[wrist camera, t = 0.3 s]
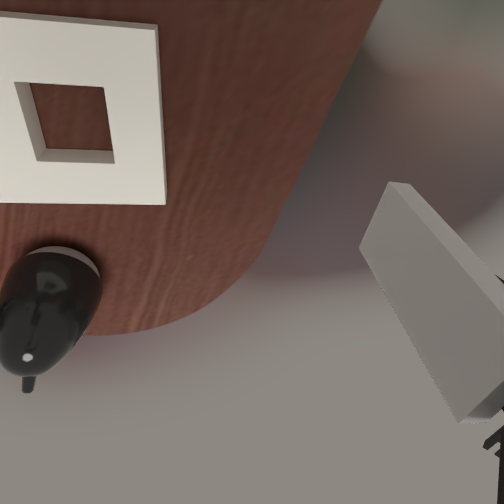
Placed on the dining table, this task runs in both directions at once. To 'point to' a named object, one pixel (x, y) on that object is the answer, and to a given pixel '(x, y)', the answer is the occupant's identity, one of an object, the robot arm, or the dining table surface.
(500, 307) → the robot arm
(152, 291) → the dining table surface
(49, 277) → the pump dispenser
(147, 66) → the socket holder
